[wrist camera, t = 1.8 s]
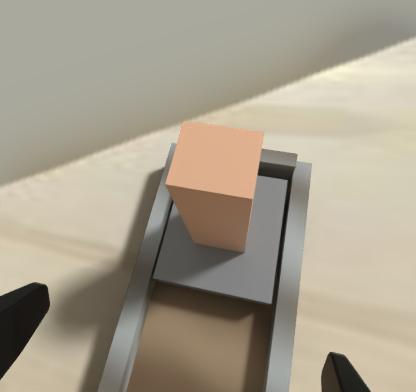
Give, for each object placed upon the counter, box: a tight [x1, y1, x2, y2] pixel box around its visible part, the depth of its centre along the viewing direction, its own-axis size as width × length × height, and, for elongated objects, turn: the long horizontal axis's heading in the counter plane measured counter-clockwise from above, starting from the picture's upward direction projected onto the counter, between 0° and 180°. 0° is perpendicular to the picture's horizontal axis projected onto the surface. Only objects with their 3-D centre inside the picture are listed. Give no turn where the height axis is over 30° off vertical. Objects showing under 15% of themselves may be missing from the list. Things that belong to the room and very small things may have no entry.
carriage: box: [153, 121, 288, 306], centre depth 16 cm, size 8×7×11 cm
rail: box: [97, 143, 312, 392], centre depth 20 cm, size 21×10×4 cm, turn 168°
